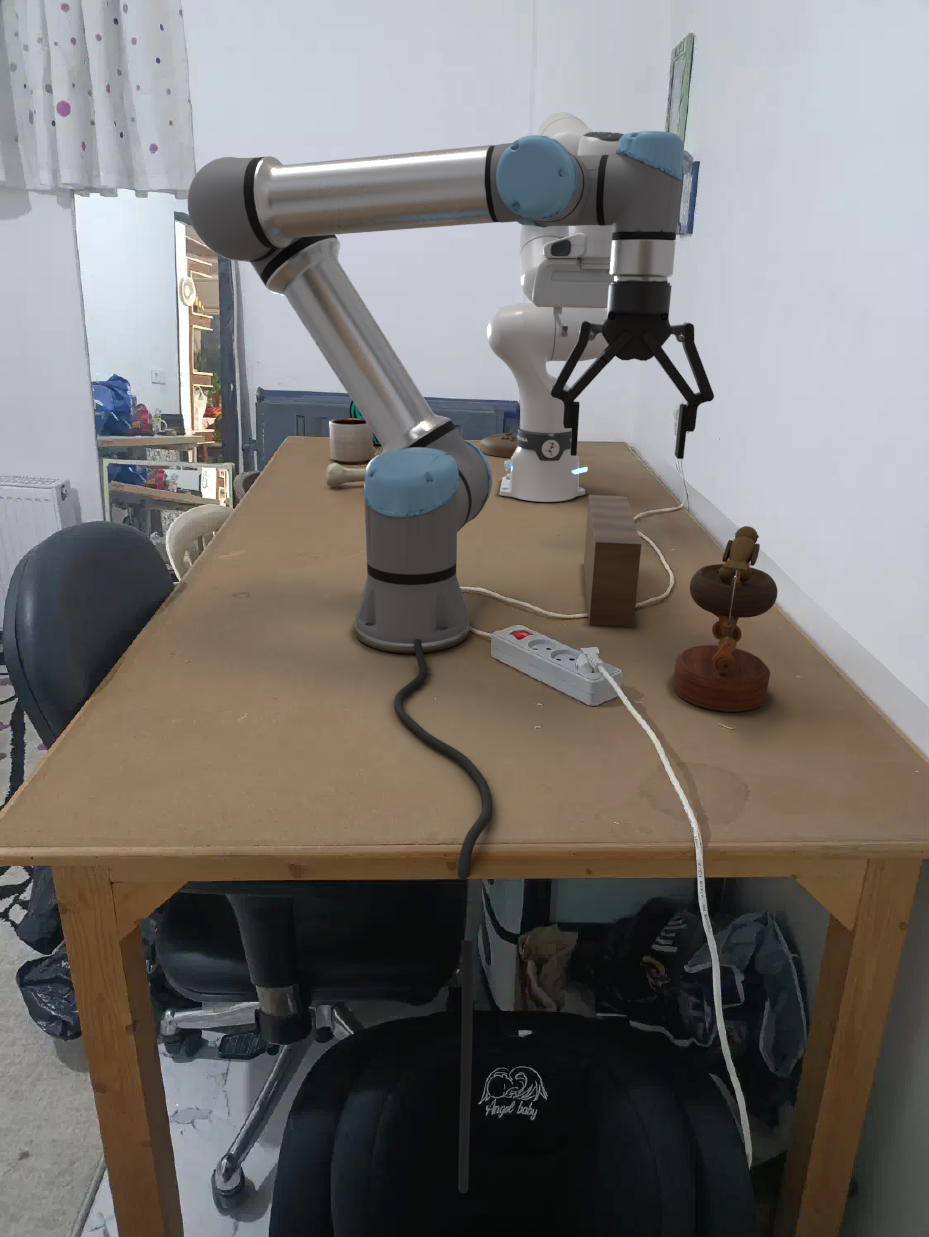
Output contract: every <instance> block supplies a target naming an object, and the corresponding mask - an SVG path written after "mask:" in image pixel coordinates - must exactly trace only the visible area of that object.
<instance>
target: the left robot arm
mask: <svg viewBox="0 0 929 1237" xmlns="http://www.w3.org/2000/svg"><path fill="white" fill-rule="evenodd" d="M684 144H685V143H684V141H683V139H682V138H681V136H680V135H679V134H676V133H674V132H671V131H670V132H669V131H661V130H643V131H637V132H636V131H633V132H628V133H625V134H624V135H623V136H622V137H621V138H620V140H619V144H618V148H617V149H616V153H614V154H609V155H572V154H571V153H570V152H569V151H567V149H566V148H565V147H564V146H563V145H562V144H561V143H559V142H558V141H557V140H555V139H551V138H549V137H547V136H539V135H536V134H530V135H525V136H522V137H519V138H518V139H515V140H514V141H513V142H509V143H500V144H494V145H493V144H486V145H477V146H465V147H455V148H447V149H437V150H426V151H416V152H415V151H414V152H406V153H396V154H395V153H394V154H385V155H374V156H364V157H353V158H342V159H334V160H333V159H332V160H323V161H313V162H302V163H293V164H291V163H290V164H283V163H282V162H281V161H280V160H279V159H278V158H277V157H275V156H271V155H269V156H267V155H266V156H259V157H258V156H257V157H232V156H224V157H223V156H222V157H220V158H216V159H213V160H211V161H209V162H208V163H206V164H205V165H203V166H202V167H201V168H200V169H199V170H198V171H197V173H196V174H195V175H194V177H193V179H192V181H191V184H190V186H189V188H188V194H187V212H188V217H189V220H190V224H191V226H192V228H193V231H194V232H195V235H197V237H198V238H199V239H200V241H201V242H202V243H203V244H204V245H205V247H206V248H208V249H209V250H210V251H211V252H213V253H215V254H216V255H217V256H220V257H222V258H224V259H227V260H229V261H236V262H245V263H250V265H251V266H252V268H253V270H254V271H255V272H256V275H257V276H258V277H259V279H260V280H261V282H262V284H263V285H264V286H265V288H266V289H267V291H268V292H269V293H272V294H276V295H281V296H283V297H285V298H286V300H287V301H288V303H289V305H290V306H291V307H292V309H293V311H294V313H295V314H296V315H297V317H298V319H299V320H300V322H301V323H302V324H303V326H304V328H305V329H306V331H307V332H308V334H309V335H310V337H311V339H312V340H313V342H314V343H315V345H316V347H317V348H318V349H319V351H320V352H321V354H322V356H323V358H324V360H326V362H327V363H328V365H329V367H330V368H331V370H332V371H333V372H334V374H335V376H336V377H337V379H338V381H339V382H340V383H341V385H342V387H343V388H344V390H345V391H346V393H347V394H348V397H350V399H351V402H352V401H353V402H354V404H355V405H356V407H357V408H358V410H359V411H360V413H361V415H362V416H363V418H364V419H365V421H366V422H367V424H368V425H369V427H370V428H371V430H372V432H373V433H374V435H375V436H376V438H377V439H378V441H379V442H380V444H381V446H380V447H381V448H382V451H381V453H380V454H378V455H376V456H374V457H373V459H372V460H370V461H368V463H367V465H366V467H365V469H366V471H365V481H364V483H363V489H362V493H363V499H364V520H365V524H364V525H365V545H366V546H365V550H366V579H365V584H364V586H363V589H362V592H361V596H360V600H359V602H358V606H357V609H356V612H355V618H354V633H355V636H356V638H357V639H358V640H359V641H360V642H362V643H363V644H365V645H367V646H368V647H371V648H374V649H377V650H380V651H384V652H390V653H396V654H397V653H398V654H415V658H416V662H417V666H418V671H419V672H418V674H417V675H416V676H415V678H414V679H413V680H411V681H410V682H409V683H407V684H406V685H405V686H403V687H402V688H400V690H399V691H398V692H397V693H396V695H395V696H394V700H393V707H394V708H393V709H394V711H395V713H396V716H397V717H398V718H399V720H400V721H401V722H402V723H403V724H404V725H405V726H406V727H407V728H408V729H410V731H411V732H413V733H414V734H415V735H416V736H417V737H418V738H419V739H420V740H422V741H423V742H425V743H426V744H428V745H429V746H431V747H432V748H434V749H437V750H438V751H439V752H440V753H443V754H445V755H446V756H448V757H449V758H451V759H453V760H454V761H456V762H457V763H458V764H459V765H461V767H462V768H464V770H465V771H466V772H467V773H468V774H469V776H471V778H472V779H473V781H474V782H475V784H476V785H477V788H478V790H479V794H480V798H481V812H480V814H479V816H478V818H477V819H476V820H475V822H474V823H473V824H472V825H471V827H470V828H469V830H468V831H467V833H466V835H465V836H464V838H463V839H464V840H463V842H462V845H461V849H460V853H459V857H458V864H457V877H458V879H461V880H466V879H468V878H469V877H470V868H471V867H470V866H471V860H472V855H473V850H474V847H475V845H476V842H477V840H478V838H479V836H480V835H481V833H482V832H483V831H484V830H485V828H486V827H487V826H488V824H489V822H490V820H491V817H492V813H493V797H492V792H491V789H490V786H489V784H488V782H487V780H486V778H485V776H484V775H483V773H481V771H480V770H479V768H478V767H477V766H476V765H475V764H474V763H473V762H472V761H471V760H470V759H469V758H468V757H467V756H466V755H465V754H464V753H462V752H461V751H460V750H458V749H457V748H455V747H453V746H451V745H450V744H448V743H446V742H444V741H443V740H440V739H439V738H437V737H435V736H434V735H433V734H431V733H430V732H428V731H427V730H425V729H424V728H423V727H422V726H421V725H420V724H418V722H416V721H415V720H414V719H413V718H412V717H411V716H410V715H409V714H408V713H407V712H406V710H405V708H404V705H403V701H404V699H405V697H406V696H407V695H408V694H411V692H413V691H414V690H416V689H417V688H418V687H419V686H420V685H421V684H423V682H424V680H425V679H426V677H427V674H428V666H427V663H426V659H425V655H424V654H425V653H433V652H439V651H443V650H446V649H449V648H452V647H455V646H457V645H458V644H460V643H462V642H463V641H464V640H466V639H467V637H468V636H469V634H470V616H469V612H468V608H467V606H466V601H465V599H464V596H463V593H462V589H461V586H460V583H459V581H458V577H457V561H458V560H457V559H458V558H457V557H458V556H457V554H458V532H460V531H461V529H462V528H463V527H464V526H466V525H467V524H468V523H469V522H471V521H472V520H474V519H476V518H477V517H478V516H479V514H480V513H481V512H482V511H483V509H484V507H485V506H486V503H487V502H488V500H489V498H490V496H491V492H492V488H493V472H492V468H491V465H490V463H489V460H488V459H487V457H486V455H485V453H483V452H482V451H481V450H480V447H478V446H477V445H475V444H474V443H472V442H470V441H468V440H465V439H463V437H462V435H461V434H460V432H459V430H458V429H457V427H456V426H455V424H454V422H453V421H452V419H451V418H450V417H446V416H442V415H437V414H436V413H434V412H433V410H432V408H431V406H430V405H429V404H428V402H427V400H426V399H425V397H424V396H423V394H422V392H421V391H420V389H419V387H418V386H417V384H416V383H415V381H414V379H413V378H412V377H411V375H410V372H408V370H407V368H406V367H405V365H404V364H403V362H402V360H401V359H400V357H399V355H398V354H397V352H396V351H395V349H394V347H393V346H392V344H391V343H390V341H389V339H388V338H387V336H386V335H385V333H384V332H383V331H382V329H381V327H380V325H379V324H378V322H377V320H376V318H375V317H374V316H373V314H372V313H371V311H370V309H369V308H368V306H367V305H366V303H365V301H364V300H363V298H362V297H361V295H360V293H359V292H358V290H357V288H356V287H355V285H354V284H353V282H352V281H351V279H350V277H349V276H348V274H347V272H346V271H345V269H344V268H343V266H342V265H341V263H340V261H339V254H340V250H341V249H340V248H341V242H340V240H339V238H338V237H337V236H336V235H346V234H360V233H372V232H373V233H375V232H387V231H399V230H401V231H403V230H413V229H426V228H428V229H429V228H440V227H452V226H453V227H455V226H466V225H480V224H492V223H493V224H494V223H500V224H501V223H515V222H516V223H518V224H519V225H521V226H522V225H528V226H536V227H542V228H544V227H548V226H569V227H571V226H583V225H600V226H606V225H612V228H613V234H612V245H611V258H610V272H609V274H610V275H611V276H614V282H610V285H609V287H608V301H607V308H606V310H607V315H606V320H605V322H604V324H596V323H589V322H588V321H583V322H582V323H581V326H580V332H579V337H578V340H577V342H576V344H575V346H574V348H573V350H572V351H571V353H570V355H569V357H568V359H567V361H565V362H564V365H563V366H562V368H561V370H560V371H559V374H558V375H557V377H556V378H557V379H556V381H555V383H554V385H553V387H552V388H551V396H552V397H554V398H557V399H560V400H562V401H563V403H564V417H563V425H564V428H572V431H571V449H570V454H571V456H576V455H577V456H578V454H577V453H578V436H579V422H580V421H579V420H580V401H576V399H577V398H578V397H579V396H580V395H581V394H582V393H583V392H584V390H585V389H586V388H587V387H588V386H589V385H590V384H591V383H592V382H593V381H594V379H596V377H597V376H598V375H599V374H600V373H601V372H602V371H603V369H604V368H605V367H606V366H608V364H609V363H611V361H612V360H613V359H614V358H615V357H616V358H617V359H619V360H621V361H631V360H637V361H641V362H646V361H648V360H651V359H653V358H655V360H656V361H657V363H658V364H659V365H660V366H661V368H662V369H663V371H664V372H665V373H666V375H667V376H668V378H669V379H670V381H671V382H672V383H673V385H674V386H675V388H676V389H677V391H679V393H680V394H681V395H682V397H683V399H684V400H685V401H686V403H680V404H679V408H678V409H679V410H678V420H677V429H676V440H675V448H674V456H675V457H676V459H677V460H684V456H685V447H686V440H687V439H686V438H687V432H688V433H689V432H690V433H691V432H692V433H694V431H695V429H696V425H697V416H698V408H699V406H700V405H702V404H705V403H707V402H712V401H713V400H714V398H715V394H714V391H713V388H712V385H711V383H710V380H709V377H708V375H707V373H706V370H705V367H704V364H703V361H702V359H701V357H700V354H699V351H698V348H697V346H696V343H695V325H694V324H693V323H691V322H689V321H688V322H687V321H686V322H684V323H681V324H672V325H671V323H670V307H671V296H672V287H673V286H672V284H671V282H669V281H668V278H670V277H672V276H673V275H674V265H675V255H676V254H675V253H676V244H677V231H678V222H679V214H680V213H679V212H680V205H681V204H680V203H681V194H682V186H683V180H684V179H683V168H684V167H683V166H684V149H685V148H684V147H685V145H684ZM599 333H602V335H603V337H604V338H605V340H606V342H607V343H608V346H607V347H606V348H605V350H604V351H603V352H602V353H601V354H600V356H599V357H598V358H595V359H594V361H593V362H592V363H591V364H590V365H589V367H587V369H586V370H585V371H584V372H583V373H582V374H581V376H580V377H578V378H577V380H576V381H575V382H574V383H573V384H572V385H571V386H570V389H569V390H568V391H567V390H564V389H563V388H564V387H565V385H566V384H567V383H568V382H569V379H570V377H571V375H572V373H573V372H574V370H575V368H576V367H577V365H578V363H579V362H580V361H579V359H580V357H581V355H582V354H583V352H584V350H585V348H586V346H587V343H588V341H592V340H594V339H595V337H596V335H597V334H599ZM671 335H674V337H675V340H676V341H677V342H678V343H681V345H682V348H683V351H684V354H685V356H686V359H687V362H688V365H689V367H690V370H691V372H692V375H693V377H694V381H695V383H696V386H697V388H698V390H699V391H698V392H694V391H693V389H692V388H691V386H690V385H689V384H688V383H687V380H685V378H684V377H683V375H682V373H681V372H680V371H679V370H678V369H677V367H676V366H675V364H674V363H673V361H672V360H671V358H670V357H669V356H668V354H667V353H666V351H665V350H664V349H663V346H664V344H665V343H666V342H667V341H668V340H669V338H670V337H671ZM473 942H474V941H473V940H467V939H466V940H465V939H461V1048H460V1050H461V1051H460V1053H461V1054H460V1089H459V1090H460V1093H459V1096H460V1098H459V1132H458V1134H459V1135H458V1180H457V1182H458V1183H457V1186H458V1188H457V1189H458V1191H459V1193H461V1194H466V1193H467V1192H468V1191H469V1167H470V1166H469V1164H470V1163H469V1162H470V1161H469V1160H470V1159H469V1158H470V1130H471V1128H470V1126H471V1099H472V1097H471V1094H472V1064H473V1063H472V1062H473V1022H474V1021H473V1019H474V1018H473V1015H474V1014H473V1013H474V1011H473V1010H474V1008H473V1007H474V1005H473V1003H474V946H473V944H474V943H473Z"/></svg>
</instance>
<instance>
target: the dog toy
mask: <svg viewBox="0 0 929 1237" xmlns="http://www.w3.org/2000/svg"><path fill="white" fill-rule="evenodd" d="M365 471H366V468H349V467H344V466H342V465H341V464H339V462H333V463H330V464H329V465H328V466H327V468H326V473H325V474H326V476H325V481H326V485H327V486H330V487H339V486H342V485H344V484H347V483H356V482H357V483H358V482H365Z"/></svg>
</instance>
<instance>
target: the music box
mask: <svg viewBox="0 0 929 1237" xmlns="http://www.w3.org/2000/svg"><path fill="white" fill-rule="evenodd" d="M759 538H760V535H758V532H757V530H756V529H755V528H753V527H752V526H750V525H744V526H742V527H739V528H738V529H737V530H736V531H735V532H734V539H729V540H728V541H727V543H726V546H725V548H724V552H723V555H722V559H721V561H722V562H723V563H717V564H710V565H706V566H703V567H701V568H700V569H698V570H697V571H696V572H695V573H694V574H693V576H692V577H691V579H690V582H689V593H690V596H691V598H692V600H693V601H694V603H695V604H696V605H697V606H698V607H699V608H701V609H702V610H704V611H706V612H709V613H711V614H713V615H714V616H716V617H717V618H718V620H717V621H715V622H714V623H713V625H712V628H711V633H712V636H713V637H714V638H715V639H716V640H718V642H717V644H703V645H696V646H693V647H688V649H686V650H684V651H682V652H681V653H680V654H678V655H677V656H676V658H675V663H674V671H673V679H672V689H673V690H674V692H675V693H676V694H677V695H678V696H679V697H680V698H681V699H683V700H684V701H687V702H688V703H690V704H693V705H695V706H696V707H697V706H698V707H700V708H704V709H708V710H712V711H717V712H729V713H731V712H734V713H735V712H736V713H737V712H738V713H739V712H747V711H751V710H754V709H757V708H760V707H761V706H763V704H764V703H765V702H766V699H767V693H768V688H769V684H770V676H771V672H770V668H769V667H768V665H766V664H765V662H764V661H763V660H762V659H761V658H759V657H758V656H756V655H755V654H753V653H751V652H749V651H746V650H743V649H741V648H737V646H738V645H737V644H738V642H739V641H740V640H741V639H742V634H743V633H742V629H741V628H740V627H739V626H738V621H739V619H740V618H741V619H744V618H753V617H759V616H761V615H763V614H765V613H767V612H769V610H771V609H772V608H773V606H774V605H775V603H776V602H777V599H778V586H777V584H776V582H775V580H774V579H773V577H772V576H771V575H769V573H767V572H765V571H763V570H760V569H758V568H755V567H754V566H755V565H756V563H757V560H758V557H759V552H760V549H761V548H760V543H758V542H757V541H758V539H759Z"/></svg>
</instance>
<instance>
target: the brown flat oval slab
mask: <svg viewBox="0 0 929 1237" xmlns="http://www.w3.org/2000/svg"><path fill="white" fill-rule="evenodd" d="M517 433H518V432H515V433H513V432H512V431H509V432H502V433H496V434H491V435H487V436H485V437H483V438H482V439H481V440H480V442H479V443H480V444H479V445H480V446H479V449H480V450H481V451H482V453H483V454H486V455H489V456H494V457H502V458H511V457H512V456H513V454H514V452H515V450H516V448H517V446H518V445H517Z"/></svg>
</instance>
